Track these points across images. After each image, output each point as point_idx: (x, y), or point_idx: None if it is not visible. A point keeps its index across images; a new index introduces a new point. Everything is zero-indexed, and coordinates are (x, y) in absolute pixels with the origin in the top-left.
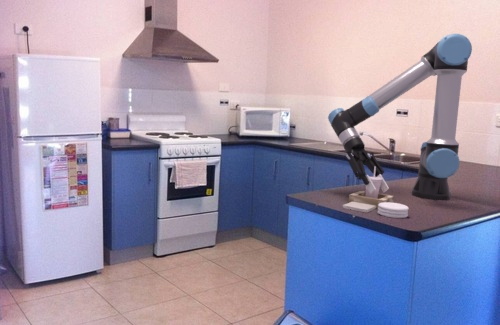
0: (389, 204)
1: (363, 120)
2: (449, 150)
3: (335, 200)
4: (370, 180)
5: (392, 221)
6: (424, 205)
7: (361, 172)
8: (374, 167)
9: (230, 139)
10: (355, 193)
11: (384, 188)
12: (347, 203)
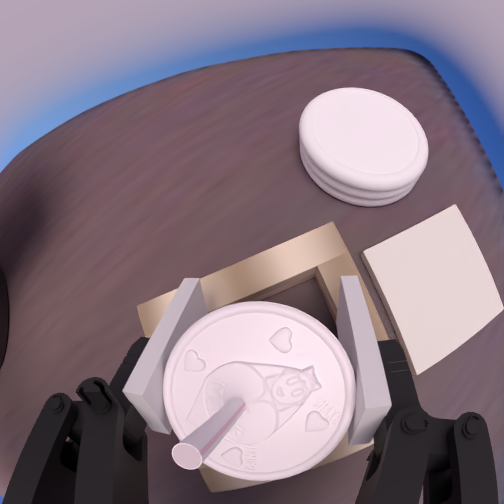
0: (371, 146)
1: None
2: None
3: None
4: (368, 340)
5: (420, 106)
6: (76, 234)
7: (456, 431)
8: (207, 453)
9: None
10: (341, 447)
11: (199, 313)
12: (468, 337)
